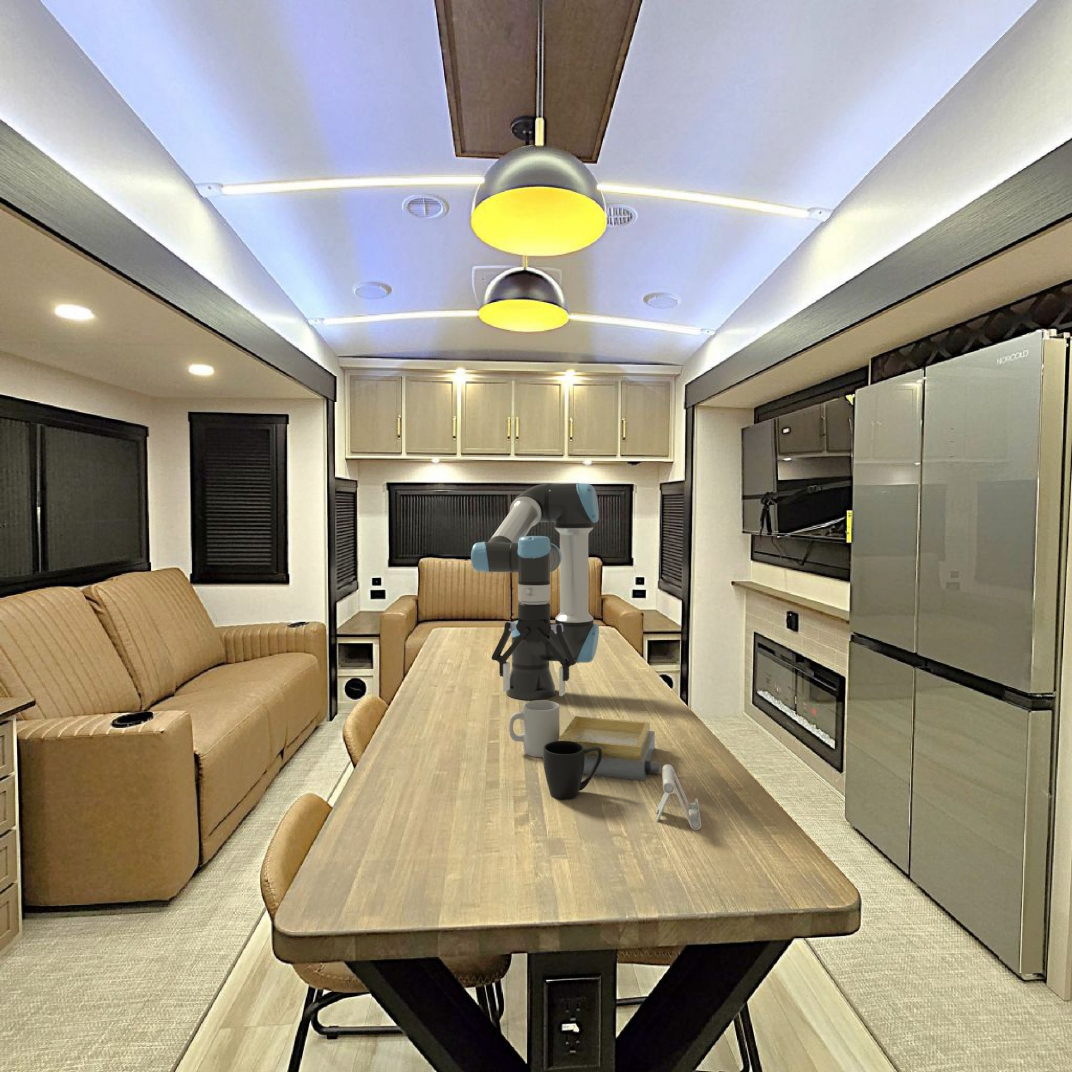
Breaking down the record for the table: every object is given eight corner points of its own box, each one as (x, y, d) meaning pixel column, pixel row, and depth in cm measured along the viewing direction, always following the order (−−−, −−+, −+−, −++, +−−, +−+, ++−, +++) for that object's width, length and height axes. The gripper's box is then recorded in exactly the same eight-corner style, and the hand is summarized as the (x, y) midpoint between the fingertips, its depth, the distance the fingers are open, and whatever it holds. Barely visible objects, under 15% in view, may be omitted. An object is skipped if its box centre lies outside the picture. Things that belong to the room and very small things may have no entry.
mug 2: (607, 799, 131) (608, 751, 130) (548, 804, 129) (548, 756, 128) (596, 782, 139) (596, 737, 139) (539, 787, 137) (539, 741, 136)
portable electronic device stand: (701, 831, 118) (701, 784, 118) (656, 827, 120) (656, 781, 119) (698, 809, 127) (698, 766, 126) (656, 806, 128) (656, 763, 128)
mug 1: (556, 743, 162) (556, 699, 161) (562, 756, 153) (562, 709, 153) (507, 746, 160) (507, 701, 160) (510, 759, 152) (510, 712, 151)
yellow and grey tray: (552, 770, 145) (552, 741, 145) (572, 739, 164) (572, 714, 164) (657, 782, 139) (657, 751, 139) (666, 749, 158) (666, 722, 158)
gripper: (478, 602, 155) (478, 692, 156) (582, 606, 148) (582, 700, 149) (489, 598, 162) (489, 684, 163) (589, 602, 155) (589, 692, 156)
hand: (534, 692), depth 156 cm, fingers open, 13 cm apart
